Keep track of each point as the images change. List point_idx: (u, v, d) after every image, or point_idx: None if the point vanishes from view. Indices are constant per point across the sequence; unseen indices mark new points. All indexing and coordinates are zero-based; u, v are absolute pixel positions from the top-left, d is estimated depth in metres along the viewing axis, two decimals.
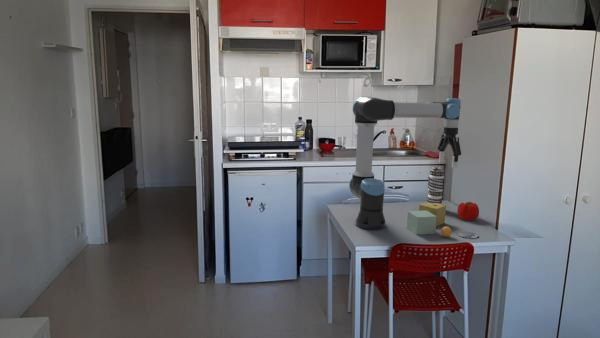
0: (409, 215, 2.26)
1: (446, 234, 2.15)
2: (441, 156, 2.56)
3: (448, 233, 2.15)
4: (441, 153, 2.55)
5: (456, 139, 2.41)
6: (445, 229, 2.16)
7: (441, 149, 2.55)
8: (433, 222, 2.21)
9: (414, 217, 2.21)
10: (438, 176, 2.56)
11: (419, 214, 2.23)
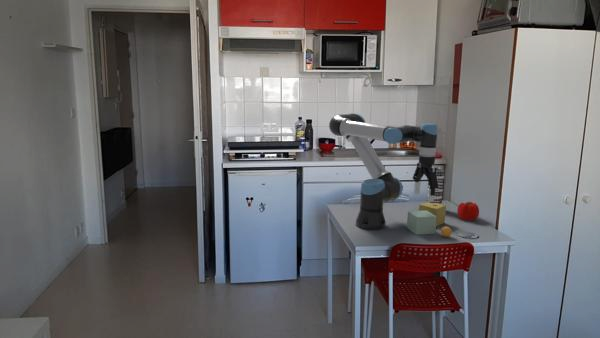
0: (409, 215, 2.26)
1: (446, 234, 2.15)
2: (416, 187, 2.28)
3: (448, 233, 2.15)
4: (416, 184, 2.28)
5: (432, 170, 2.14)
6: (445, 229, 2.16)
7: (416, 179, 2.28)
8: (433, 222, 2.21)
9: (414, 217, 2.21)
10: (438, 176, 2.56)
11: (419, 214, 2.23)
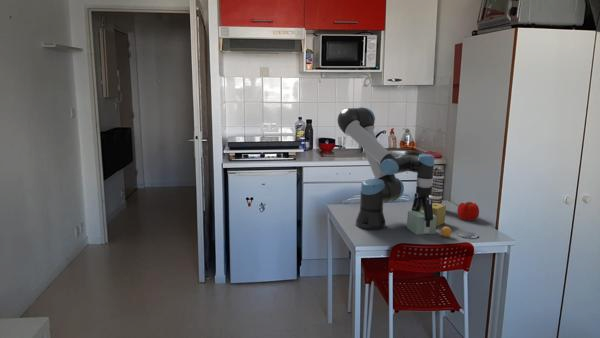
0: (409, 215, 2.26)
1: (446, 234, 2.15)
2: None
3: (448, 233, 2.15)
4: None
5: (429, 202, 2.16)
6: (445, 229, 2.16)
7: (415, 210, 2.29)
8: (433, 222, 2.21)
9: (414, 217, 2.21)
10: (438, 176, 2.56)
11: (419, 214, 2.23)
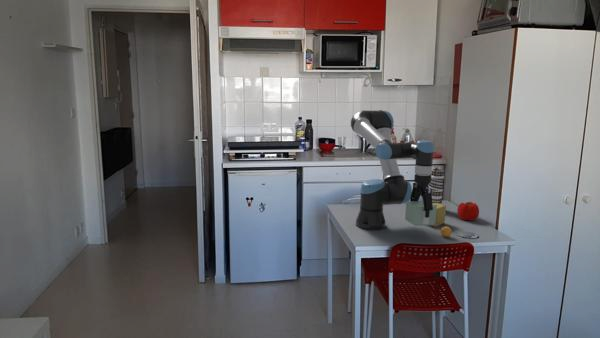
0: (407, 205, 2.13)
1: (446, 234, 2.15)
2: None
3: (448, 233, 2.15)
4: None
5: (428, 191, 2.03)
6: (445, 229, 2.16)
7: None
8: (433, 212, 2.08)
9: (413, 207, 2.08)
10: (438, 176, 2.56)
11: (418, 204, 2.10)
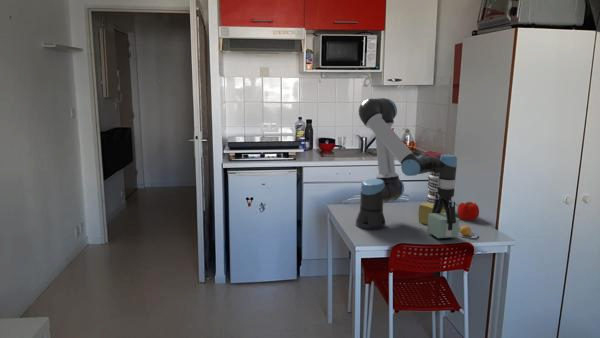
0: (430, 218, 2.18)
1: (470, 232, 2.18)
2: None
3: (468, 232, 2.17)
4: None
5: (452, 205, 2.07)
6: (465, 235, 2.19)
7: None
8: (455, 225, 2.12)
9: (436, 220, 2.13)
10: (438, 176, 2.56)
11: (441, 217, 2.14)
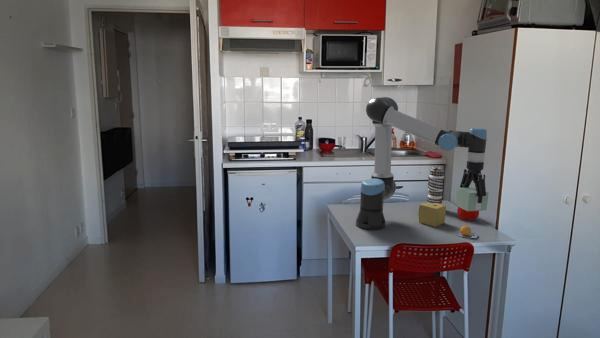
0: (458, 192, 2.18)
1: (470, 232, 2.18)
2: None
3: (468, 232, 2.17)
4: None
5: (482, 177, 2.08)
6: (465, 235, 2.19)
7: (464, 187, 2.21)
8: (485, 198, 2.13)
9: (465, 193, 2.13)
10: (438, 176, 2.56)
11: (470, 190, 2.15)
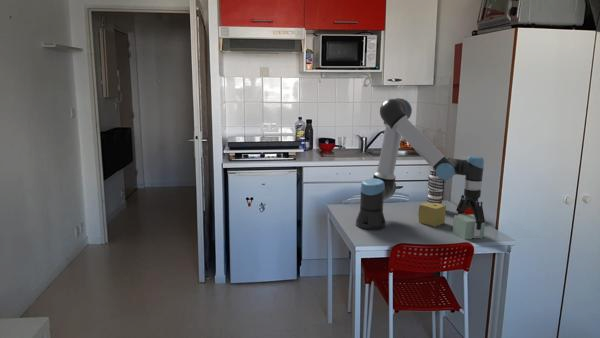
0: (456, 219, 2.21)
1: None
2: None
3: None
4: None
5: (479, 204, 2.11)
6: None
7: (460, 211, 2.25)
8: (482, 227, 2.15)
9: (462, 221, 2.16)
10: None
11: (467, 218, 2.18)
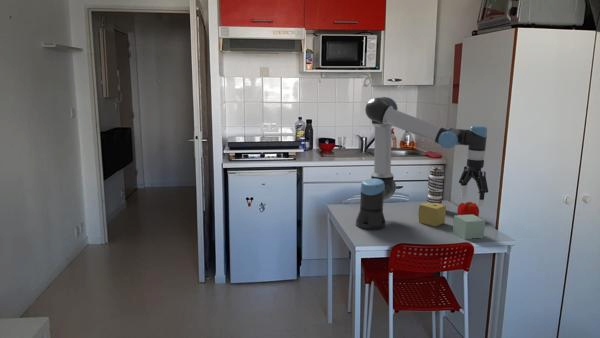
0: (456, 219, 2.21)
1: None
2: (463, 191, 2.23)
3: None
4: (463, 188, 2.22)
5: (482, 174, 2.08)
6: None
7: (463, 183, 2.22)
8: (482, 227, 2.15)
9: (462, 221, 2.16)
10: (438, 176, 2.56)
11: (467, 218, 2.18)
